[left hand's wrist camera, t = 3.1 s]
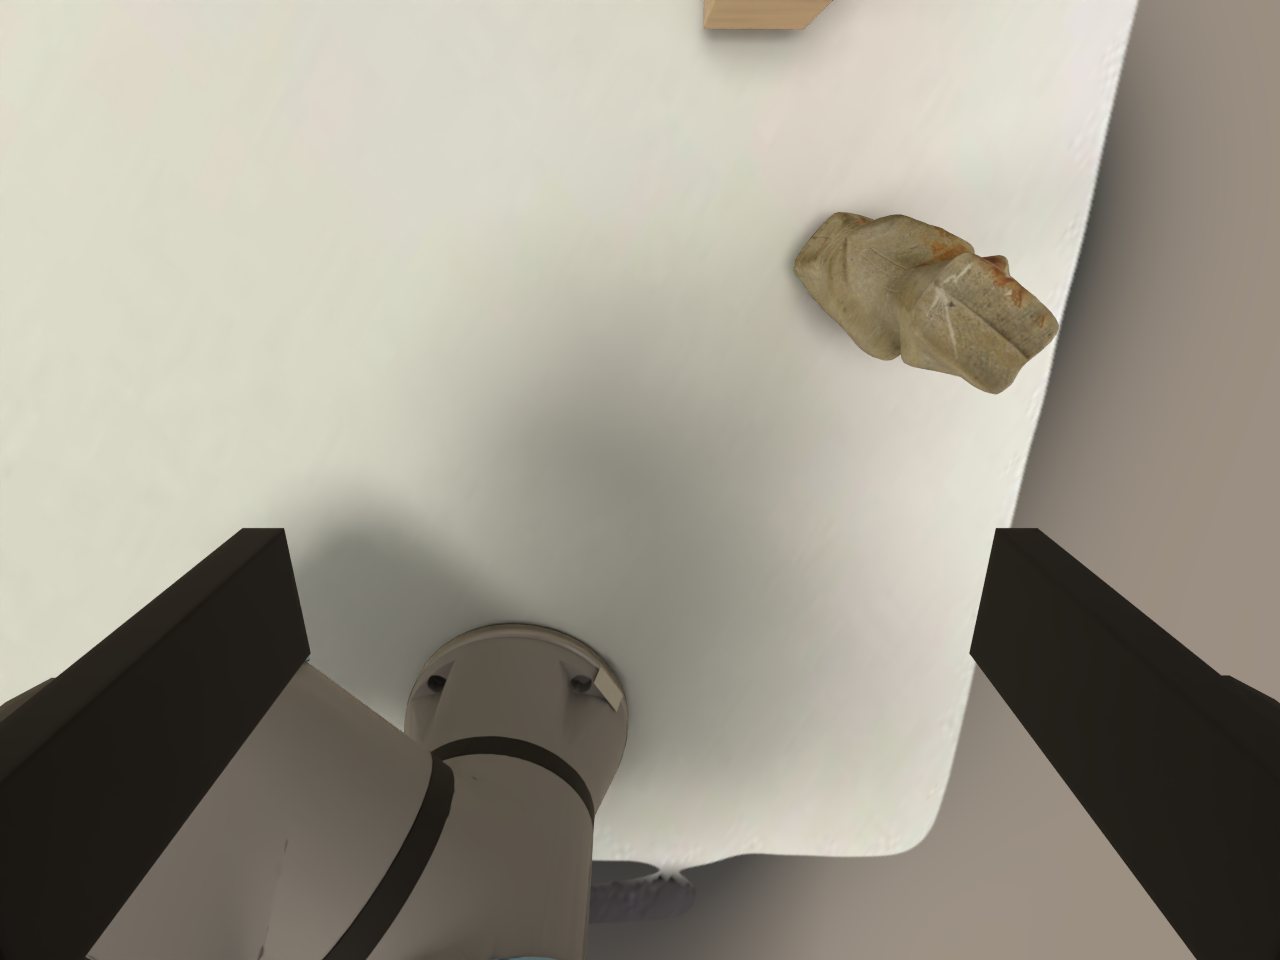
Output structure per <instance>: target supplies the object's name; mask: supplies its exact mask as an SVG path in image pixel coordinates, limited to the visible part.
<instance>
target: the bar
mask: <svg viewBox="0 0 1280 960" xmlns="http://www.w3.org/2000/svg"><path fill="white" fill-rule="evenodd" d="M832 1H833V0H704V21H703V27H704V28H712V29H805V28H806V27H807V26H808V25H809V24H810V23H811V22H812V21H813V20H814V19H815V18H816V17H817V16H818V15H819V14H820V13H821V12H822V11H823V10H824V9H825V8H826V7H827V6H828V5H829V4H830V3H831V2H832Z"/></svg>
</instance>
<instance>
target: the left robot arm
mask: <svg viewBox="0 0 1280 960" xmlns="http://www.w3.org/2000/svg"><path fill="white" fill-rule="evenodd" d="M309 655H310V648H309V643H308V639H307V634H306V629H305V625H304V620H303V615H302V610H301V606H300V601H299V596H298V592H297V587H296V582H295V577H294V573H293V568H292V563H291V559H290V554H289V549H288V544H287V540H286V535H285V530H284V528H242V529H241V530H240V531H238V532H237V533H236V534H235V535H233V536H232V537H231V538H230V539H228V540H227V541H226V542H225V543H223V544H222V545H221V546H220V547H218V548H217V549H216V550H215V551H213V552H212V553H211V554H210V555H208V556H207V557H206V558H205V559H203V560H202V561H201V562H200V563H198V564H197V565H196V566H195V567H194V568H192V569H191V570H190V571H189V572H187V573H186V574H185V575H184V576H182V577H181V578H180V579H179V580H177V581H176V582H175V583H174V584H172V585H171V586H170V587H169V588H167V589H166V590H165V591H164V592H162V593H161V594H160V595H159V596H157V597H156V598H155V599H154V600H152V601H151V602H150V603H149V604H147V605H146V606H145V607H144V608H142V609H141V610H140V611H139V612H137V613H136V614H135V615H134V616H132V617H131V618H130V619H129V620H127V621H126V622H125V623H124V624H122V625H121V626H120V627H119V628H117V629H116V630H115V631H114V632H112V633H111V634H110V635H109V636H107V637H106V638H105V639H104V640H102V641H101V642H100V643H99V644H97V645H96V646H95V647H94V648H92V649H91V650H90V651H89V652H87V653H86V654H85V655H84V656H83V657H81V658H80V659H79V660H78V661H76V662H75V663H74V664H73V665H71V666H70V667H69V668H68V669H66V670H65V671H64V672H63V673H61V674H60V675H59V676H58V677H56V678H50V679H49V680H47V681H45V682H43V683H41V684H39V685H37V686H35V687H34V688H32V689H30V690H28V691H26V692H24V693H22V694H20V695H18V696H17V697H15V698H13V699H11V700H9V701H7V702H5V703H4V704H3V705H2V706H0V960H586V955H587V937H588V920H589V902H590V884H591V866H592V849H593V829H594V817H595V814H596V812H597V810H598V808H599V806H600V804H601V802H602V800H603V798H604V796H605V794H606V792H607V790H608V788H609V786H610V784H611V781H612V779H613V777H614V775H615V773H616V771H617V769H618V767H619V765H620V762H621V759H622V756H623V752H624V749H625V745H626V740H627V721H628V713H627V704H626V699H625V696H624V692H623V689H622V687H621V685H620V683H619V681H618V679H617V677H616V676H615V674H614V673H613V671H612V670H611V669H610V667H609V666H608V665H607V664H606V663H605V661H604V660H603V659H602V658H601V657H600V656H598V655H597V654H596V653H595V652H594V651H593V650H591V649H590V648H588V647H587V646H586V645H584V644H582V643H581V642H579V641H578V640H576V639H574V638H572V637H570V636H568V635H565V634H563V633H560V632H558V631H554V630H551V629H548V628H544V627H539V626H533V625H525V624H501V625H493V626H488V627H483V628H479V629H476V630H473V631H470V632H467V633H465V634H462V635H460V636H458V637H456V638H455V639H453V640H451V641H450V642H448V643H447V644H445V645H444V646H442V647H441V648H440V649H439V650H438V651H436V652H435V654H434V655H433V656H432V657H431V658H430V659H429V660H428V661H427V663H426V664H425V665H424V667H423V669H422V670H421V672H420V674H419V676H418V678H417V680H416V682H415V684H414V687H413V689H412V691H411V694H410V697H409V700H408V704H407V709H406V714H405V723H404V733H403V732H402V731H400V730H399V729H397V728H396V727H395V726H393V725H392V724H390V723H389V722H388V721H386V720H385V719H384V718H382V717H381V716H380V715H378V714H377V713H376V712H374V711H373V710H371V709H370V708H369V707H367V706H366V705H365V704H363V703H362V702H361V701H359V700H358V699H357V698H355V697H354V696H352V695H351V694H350V693H348V692H347V691H346V690H344V689H343V688H342V687H340V686H339V685H338V684H336V683H335V682H333V681H332V680H331V679H329V678H328V677H327V676H325V675H324V674H323V673H321V672H320V671H319V670H317V669H316V668H314V667H313V666H312V665H310V664H309V663H308V662H307V661H309V660H310V658H309V657H308V656H309ZM970 655H971V656H972V657H973V659H974V660H975V662H976V663H977V664H978V666H979V667H980V668H981V670H982V671H983V672H984V674H985V675H986V676H987V678H988V679H989V680H990V682H991V683H992V684H993V686H994V687H995V688H996V690H997V691H998V692H999V694H1000V695H1001V697H1002V698H1003V699H1004V701H1005V702H1006V703H1007V705H1008V706H1009V707H1010V709H1011V710H1012V711H1013V713H1014V714H1015V715H1016V717H1017V718H1018V719H1019V721H1020V722H1021V723H1022V725H1023V726H1024V728H1025V729H1026V730H1027V731H1028V733H1029V734H1030V736H1031V737H1032V738H1033V740H1034V741H1035V742H1036V744H1037V745H1038V746H1039V748H1040V749H1041V750H1042V752H1043V753H1044V754H1045V756H1046V757H1047V759H1048V760H1049V761H1050V762H1051V764H1052V765H1053V767H1054V768H1055V769H1056V771H1057V772H1058V773H1059V775H1060V776H1061V777H1062V779H1063V780H1064V781H1065V783H1066V784H1067V785H1068V787H1069V788H1070V789H1071V791H1072V792H1073V793H1074V795H1075V796H1076V798H1077V799H1078V800H1079V802H1080V803H1081V804H1082V806H1083V807H1084V808H1085V810H1086V811H1087V812H1088V814H1089V815H1090V816H1091V818H1092V819H1093V820H1094V822H1095V823H1096V824H1097V826H1098V827H1099V829H1100V830H1101V831H1102V833H1103V834H1104V835H1105V837H1106V838H1107V839H1108V841H1109V842H1110V843H1111V845H1112V846H1113V847H1114V849H1115V850H1116V851H1117V853H1118V854H1119V855H1120V857H1121V858H1122V860H1123V861H1124V862H1125V864H1126V865H1127V866H1128V868H1129V869H1130V870H1131V872H1132V873H1133V874H1134V876H1135V877H1136V878H1137V880H1138V881H1139V882H1140V884H1141V885H1142V886H1143V888H1144V889H1145V891H1146V892H1147V893H1148V895H1149V896H1150V897H1151V899H1152V900H1153V901H1154V903H1155V904H1156V905H1157V907H1158V908H1159V909H1160V911H1161V912H1162V913H1163V915H1164V916H1165V917H1166V919H1167V920H1168V922H1169V923H1170V924H1171V926H1172V927H1173V928H1174V930H1175V931H1176V932H1177V934H1178V935H1179V936H1180V938H1181V939H1182V940H1183V942H1184V943H1185V944H1186V946H1187V947H1188V948H1189V950H1190V951H1191V952H1192V954H1193V955H1194V957H1195V958H1196V959H1197V960H1280V703H1279V702H1277V701H1276V700H1275V699H1273V698H1271V697H1269V696H1267V695H1265V694H1263V693H1261V692H1260V691H1258V690H1256V689H1254V688H1252V687H1250V686H1248V685H1246V684H1244V683H1242V682H1241V681H1239V680H1237V679H1235V678H1233V677H1231V676H1221V675H1220V674H1219V673H1217V672H1216V671H1215V670H1214V669H1212V668H1211V667H1210V666H1209V665H1207V664H1206V663H1205V662H1204V661H1202V660H1201V659H1200V658H1199V657H1197V656H1196V655H1195V654H1194V653H1193V652H1191V651H1190V650H1189V649H1187V648H1186V647H1185V646H1184V645H1183V644H1181V643H1180V642H1179V641H1178V640H1176V639H1175V638H1174V637H1172V636H1171V635H1170V634H1169V633H1168V632H1166V631H1165V630H1164V629H1163V628H1161V627H1160V626H1159V625H1158V624H1156V623H1155V622H1154V621H1153V620H1151V619H1150V618H1149V617H1148V616H1146V615H1145V614H1144V613H1143V612H1141V611H1140V610H1139V609H1138V608H1136V607H1135V606H1134V605H1133V604H1131V603H1130V602H1129V601H1128V600H1126V599H1125V598H1124V597H1123V596H1121V595H1120V594H1119V593H1118V592H1116V591H1115V590H1114V589H1113V588H1111V587H1110V586H1109V585H1108V584H1106V583H1105V582H1104V581H1103V580H1101V579H1100V578H1099V577H1098V576H1096V575H1095V574H1094V573H1093V572H1091V571H1090V570H1089V569H1088V568H1086V567H1085V566H1084V565H1083V564H1081V563H1080V562H1079V561H1078V560H1076V559H1075V558H1074V557H1073V556H1072V555H1070V554H1069V553H1068V552H1067V551H1065V550H1064V549H1063V548H1062V547H1060V546H1059V545H1058V544H1057V543H1055V542H1054V541H1053V540H1052V539H1050V538H1049V537H1048V536H1047V535H1045V534H1044V533H1043V532H1042V531H1040V530H1039V529H1038V528H996V530H995V535H994V540H993V544H992V549H991V554H990V559H989V563H988V568H987V573H986V577H985V582H984V587H983V592H982V596H981V601H980V606H979V610H978V615H977V620H976V625H975V629H974V634H973V639H972V643H971V648H970Z"/></svg>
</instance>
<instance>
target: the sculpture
mask: <svg viewBox="0 0 1280 960" xmlns="http://www.w3.org/2000/svg"><path fill="white" fill-rule="evenodd" d="M794 272H795V274H796V275H797V276H798V277H799V278H800V279H801V281H802V282H803V284H804V286H805V287H806V289H807V290H808V292H809V293H810V294H811V296H812V297H813V298H814V299H815V301H816V302H817V303H818V304H819V305H820V306H821V307H822V308H823V309H824V310H825V311H826V312H827V313H828V314H829V315H830V316H831V317H832V318H833V319H834V320H835V321H836V322H837V323H838V324H839V325H840V326H841V327H842V328H843V329H844V330H845V331H846V333H847V334H848V335H849V336H850V337H851V338H852V339H853V341H854V342H855V343H856V345H857V346H858V347H859V348H860V349H861V350H863V351H864V352H866V353H867V354H869V355H871V356H872V357H875V358H878V359H881V360H892V359H894V358H896V357H898V356H899V355H900V354H901V357H902V360H903V362H904V363H906V364H908V365H909V366H912V367H917V368H922V369H927V370H933V371H938V372H942V373H947V374H951V375H955V376H959V377H961V378H963V379H964V380H966V381H967V382H968V383H970V384H971V385H973V386H974V387H976V388H978V389H980V390H982V391H984V392H988V393H991V394H999V393H1000V392H1002V391H1004V390H1005V389H1006V388H1008V387H1009V386H1010V385H1011V384H1012V383H1013V381H1014V380H1015V378H1016V376H1017V374H1018V372H1019V371H1020V369H1021V368H1022V367H1023V366H1024V365H1025V364H1026V363H1027V362H1028V361H1029V360H1030V359H1032V358H1033V357H1034V356H1035V355H1037V354H1038V353H1039V352H1040V351H1041V350H1042V349H1044V348H1045V347H1046V346H1047V345H1048V344H1049V343H1050V342H1051V341H1052V340H1053V338H1054V337H1055V335H1056V334H1057V332H1058V329H1059V325H1058V322H1057V320H1056V318H1055V317H1054V316H1053V314H1052V313H1051V312H1050V311H1049V310H1048V309H1047V308H1046V307H1045V306H1044V305H1043V304H1042V303H1041V302H1040V301H1039V300H1038V299H1037V298H1036V297H1035V296H1034V295H1033V294H1031V293H1030V292H1029V291H1027V290H1026V289H1025V288H1024V287H1022V286H1021V285H1020V284H1019V283H1018V282H1017V281H1016V280H1015V279H1014V278H1012V277H1011V276H1010V274H1009V265H1008V260H1007V259H1006V257H1004V256H1001V255H997V256H989V257H982V258H981V257H980V256H978V255H975V254H974V248H973V247H972V245H971V244H970V243H968V242H966V241H965V240H963V239H961V238H959V237H957V236H955V235H953V234H951V233H949V232H947V231H945V230H944V229H942V228H940V227H936V226H932V225H929V224H926V223H924V222H921V221H918V220H915V219H913V218H910V217H908V216H904V215H890V216H886V217H882V218H879V219H876V220H873V219H870V218H867V217H864V216H861V215H856V214H852V213H844V212H838V213H834V214H833V215H832V216H831V217H830V218H829V219H828V220H827V221H826V222H825V223H824V224H823V225H822V226H821V227H820V228H819V229H818V230H817V232H816V233H815V234H814V235H813V236H812V238H811V239H810V240H809V241H808V242H807V244H806V245H805V246H804V248H803V249H802V251H801V252H800V254H799V255H798V257H797V259H796V261H795V267H794Z"/></svg>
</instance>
